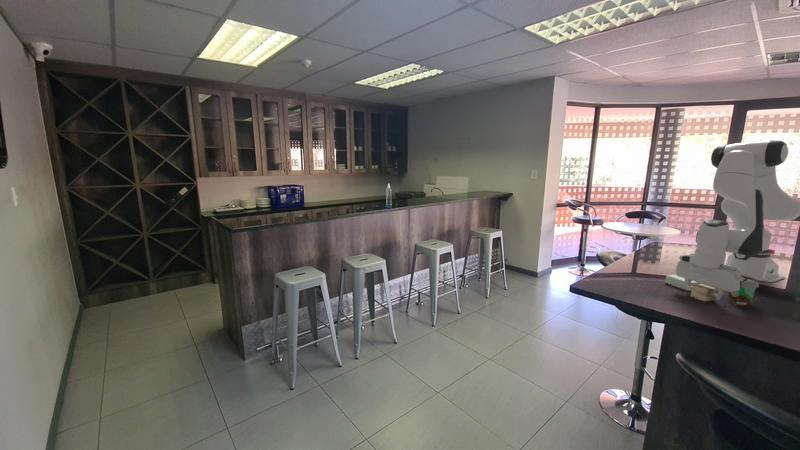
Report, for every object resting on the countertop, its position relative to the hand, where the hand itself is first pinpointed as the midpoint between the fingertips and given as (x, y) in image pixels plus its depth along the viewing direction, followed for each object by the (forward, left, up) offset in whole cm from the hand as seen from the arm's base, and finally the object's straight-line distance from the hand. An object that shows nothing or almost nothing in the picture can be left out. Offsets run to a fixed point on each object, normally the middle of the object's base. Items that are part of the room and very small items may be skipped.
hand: (702, 294), depth 127 cm
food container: (-10, +7, -2) cm, 12 cm away
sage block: (-8, -12, -2) cm, 15 cm away
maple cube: (0, 0, -2) cm, 2 cm away
